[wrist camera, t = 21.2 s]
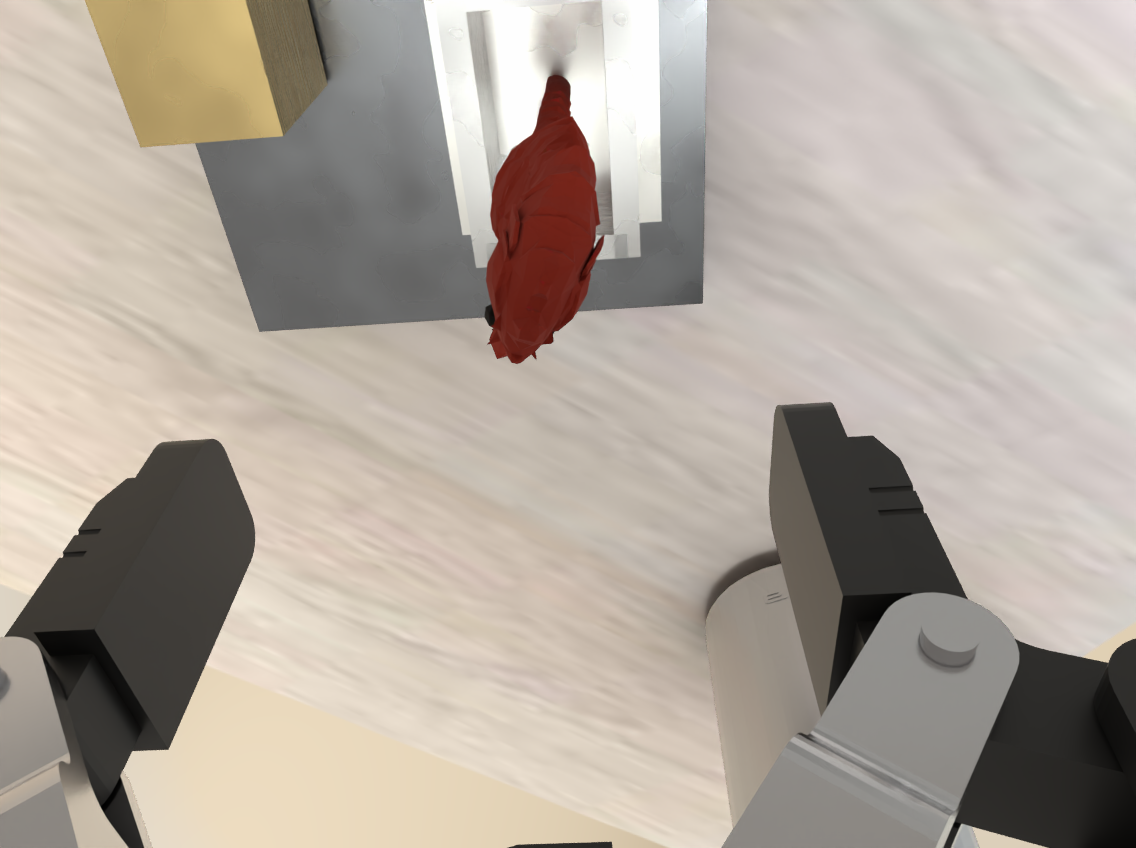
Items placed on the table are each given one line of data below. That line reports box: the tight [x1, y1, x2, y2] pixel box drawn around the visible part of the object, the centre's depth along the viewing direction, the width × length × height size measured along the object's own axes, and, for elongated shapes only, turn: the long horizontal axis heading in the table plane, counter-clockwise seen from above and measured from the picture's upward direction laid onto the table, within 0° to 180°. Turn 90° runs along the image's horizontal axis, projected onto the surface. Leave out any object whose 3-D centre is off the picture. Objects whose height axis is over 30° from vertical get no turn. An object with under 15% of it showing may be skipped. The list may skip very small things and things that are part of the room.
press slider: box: [85, 0, 328, 147], centre depth 24 cm, size 4×4×5 cm
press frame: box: [195, 0, 707, 332], centre depth 26 cm, size 16×17×6 cm
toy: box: [484, 75, 605, 364], centre depth 21 cm, size 2×5×15 cm, turn 160°
